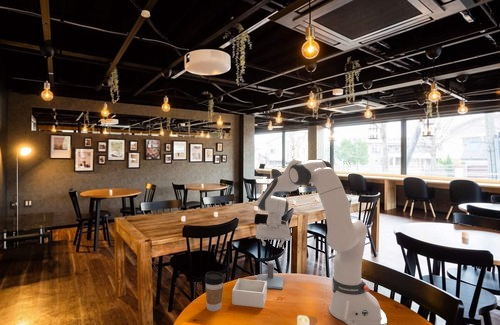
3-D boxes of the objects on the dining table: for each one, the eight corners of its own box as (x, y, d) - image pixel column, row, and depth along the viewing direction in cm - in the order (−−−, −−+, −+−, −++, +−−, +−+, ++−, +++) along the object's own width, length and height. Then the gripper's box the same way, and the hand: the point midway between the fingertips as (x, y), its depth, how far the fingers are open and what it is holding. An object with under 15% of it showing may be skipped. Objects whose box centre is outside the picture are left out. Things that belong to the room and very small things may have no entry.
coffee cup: (207, 303, 120) (207, 269, 120) (225, 304, 119) (226, 271, 119) (201, 313, 112) (202, 278, 112) (221, 315, 111) (221, 279, 110)
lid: (283, 280, 144) (284, 263, 144) (282, 291, 132) (282, 273, 132) (258, 278, 146) (258, 261, 146) (254, 288, 135) (254, 270, 135)
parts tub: (266, 295, 127) (267, 281, 127) (263, 309, 116) (263, 293, 116) (238, 292, 130) (238, 278, 130) (232, 305, 118) (232, 290, 118)
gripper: (256, 220, 161) (253, 241, 151) (290, 222, 157) (290, 244, 147) (257, 226, 165) (254, 247, 155) (290, 228, 161) (290, 249, 152)
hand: (272, 245), depth 151 cm, fingers open, 8 cm apart
